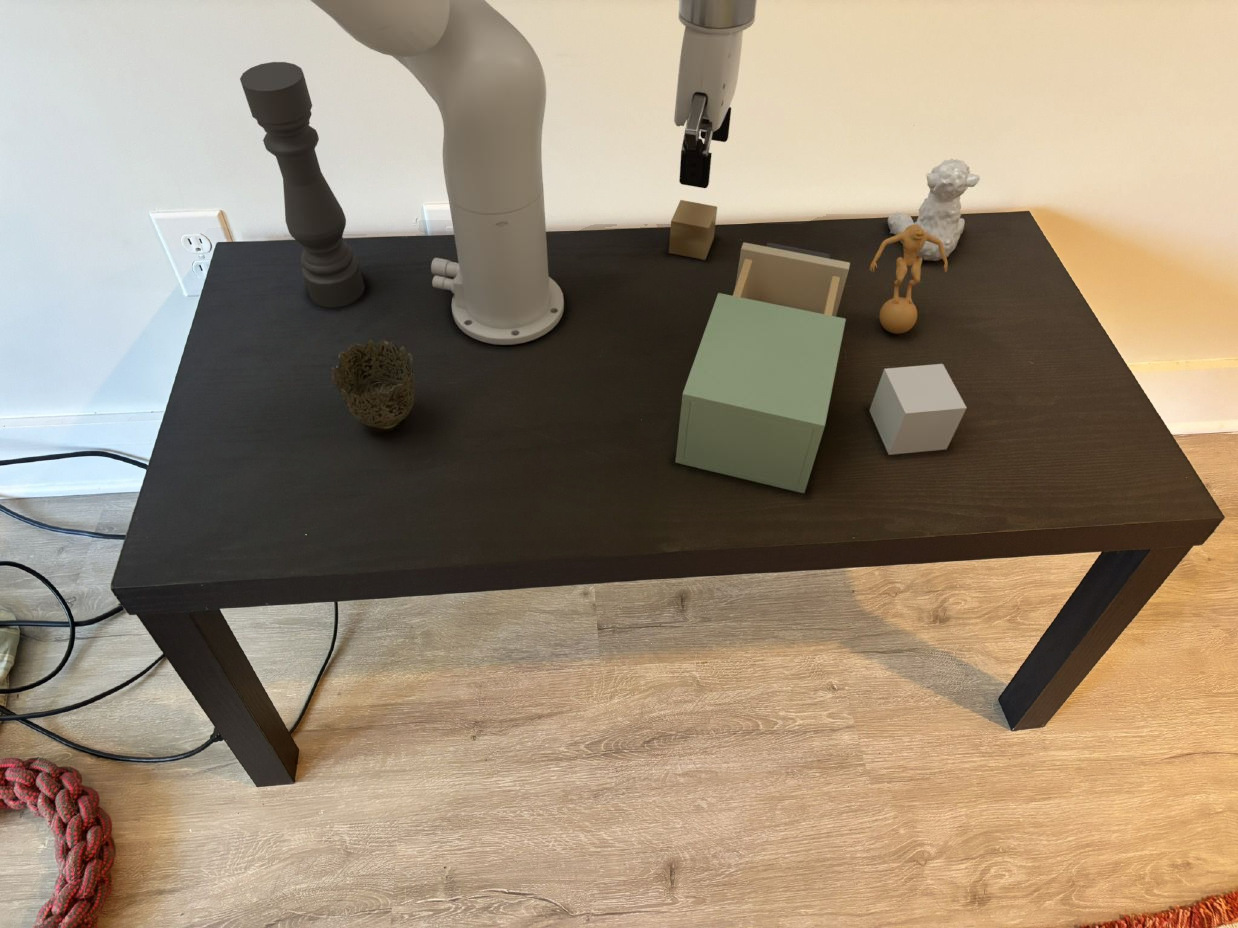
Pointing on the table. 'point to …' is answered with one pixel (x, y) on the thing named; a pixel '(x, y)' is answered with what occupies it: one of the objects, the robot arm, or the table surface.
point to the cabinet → (759, 392)
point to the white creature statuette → (939, 208)
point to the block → (692, 229)
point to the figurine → (899, 310)
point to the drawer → (791, 277)
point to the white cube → (916, 409)
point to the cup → (376, 384)
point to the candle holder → (304, 182)
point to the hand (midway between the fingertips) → (704, 161)
